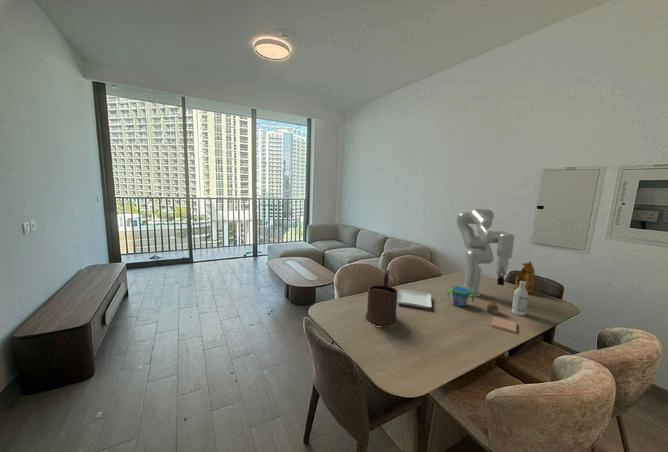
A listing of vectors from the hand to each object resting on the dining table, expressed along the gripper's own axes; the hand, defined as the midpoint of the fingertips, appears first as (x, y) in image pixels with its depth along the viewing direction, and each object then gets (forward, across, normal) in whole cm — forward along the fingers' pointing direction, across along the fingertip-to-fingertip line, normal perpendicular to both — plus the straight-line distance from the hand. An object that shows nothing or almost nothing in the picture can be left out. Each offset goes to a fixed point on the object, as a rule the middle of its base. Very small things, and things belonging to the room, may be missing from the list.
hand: (500, 282), depth 154 cm
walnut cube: (+19, +1, -2) cm, 19 cm away
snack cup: (+19, +2, -20) cm, 28 cm away
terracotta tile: (+19, +16, +4) cm, 25 cm away
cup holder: (+19, +46, -55) cm, 74 cm away
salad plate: (+20, +15, -46) cm, 52 cm away
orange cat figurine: (+19, -52, +16) cm, 58 cm away
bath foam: (+19, -7, +11) cm, 24 cm away
